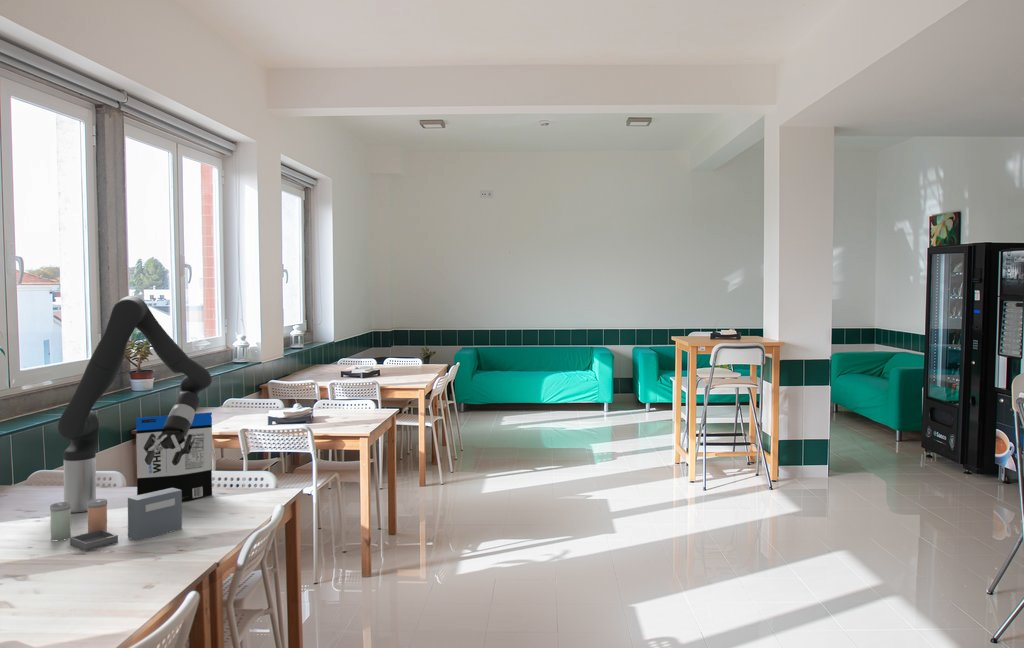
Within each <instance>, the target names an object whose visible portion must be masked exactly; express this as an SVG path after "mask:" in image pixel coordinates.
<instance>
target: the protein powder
mask: <svg viewBox="0 0 1024 648" xmlns="http://www.w3.org/2000/svg"><path fill="white" fill-rule="evenodd" d="M212 415H213V412H201V413H199V412H195V415H194V419H193V422H192V424H191V426H190V428H189V431H188V433H187V436H188V435H189V434H191V435H192V436H193V438H194V442H193V445H192V448H191V451H190V453H189V454H184V455H182V457H181V459H180V462H179V463H178V464H177V465H173V464H172V460H173V458H174V455H175V453H176V452H177V449H176V448H174V449H170V448H169V449H163V450H161V451H158V452H157V453H156V454H154V458H153V460H152V462H151V464H150V465H147V463H146V462H145V458H146V455H147V453H146V451H145V450H144V449H143V448H144V446H145V444H146V442H147V440H148V438H149V436H150V435H151V434H154V435H157V436H159V435H160V434H161V433H162V430H163V427H164V424H165V422H166V420H167V418H168V416H169V414H168V415H160V416H159V415H157V416H155V415H154V416H143V417H142V416H141V417H136V419H135V420H136V424H135V425H136V426H135V427H136V430H135V431H136V433H135V434H136V442H135V443H136V479H137V481H136V482H137V483H136V486H137V487H136V496H137V495H141V494H146V493H150V492H155V491H159V490H164V489H168V488H176V489H179V490H182V503H187V502H192V501H196V500H200V499H204V498H207V497H209V496H213V476H212V475H213V473H212V466H213V465H212V462H213V461H212V458H213V455H212V453H213V417H212ZM157 441H158V440H157ZM185 442H186V441H184V442H183V443H181V444H180V445H181V448H182V449H183V448H184V445H185ZM160 446H161V444H159V447H160ZM155 449H156V448H155ZM155 449H154V450H155Z"/></svg>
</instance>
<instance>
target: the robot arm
mask: <svg viewBox="0 0 1024 648" xmlns="http://www.w3.org/2000/svg"><path fill="white" fill-rule="evenodd" d="M136 329H137V330H138V331H139V332H140V333H142V335H143V336H144V337H145V338H146V340H147V341H148V343H149V344H150V346H151V349H153V350H154V352H155V354H156V355H157V356H158V358H159V359H160V360H161V361H162V362H163V364H164V365H165V366H166V367H167V369H169V370H170V371H171V372H172V373H174V374H180V373H181V374H184V375H185V376H184V377H183V379H182V380H181V382H180V383H179V384H180V385H179V388H178V393H177V398H176V400H175V403H174V405H173V406H172V408H171V410H170V411H169V414H168V415H169V416H168V415H167V416H168V418H167V420H166V422H165V424H164V427H163V430H162V433H161V434H160V435H159V436H157V435H154V434H151V435H150V436H149V438H148V440H147V442H146V444H145V446H144V448H143V449H144V450H145V451H146V453H147V455H146V458H145V462H146V463H147V465H150V464H151V462H152V460H153V458H154V454H156V453H157V452H158V451H161V450H163V449H169V448H170V449H174V448H176V449H177V452H176V453H175V455H174V458H173V460H172V464H173V465H177V464H178V463H179V462H180V459H181V457H182V455H184V454H189V453H190V451H191V448H192V445H193V442H194V438H193V436H192V435H191V434H189V435H188V436H187V433H188V431H189V428H190V426H191V424H192V422H193V419H194V415H195V414H196V413H197V410H198V408H199V404H200V397H199V396H198V394H200V392H202V391H204V390H206V389H207V388H209V387H210V386H211V384H212V381H213V379H212V375H211V373H210V371H208V370H207V369H206V367H204V366H202V365H201V364H199V363H198V362H196V361H195V360H193V359H192V358H190V357H189V356H188V355H187V353H186V352H184V351H183V349H182V348H181V347H180V346H179V345H178V344H177V343H176V342H175V341H174V340H173V339H172V337H171V336H170V335H169V333H167V331H166V330H165V329H164V328H163V327H162V326H161V324H160V323H159V321H158V320H157V319H156V318H155V315H154V314H153V313H152V311H151V310H150V308H149V306H148V305H147V303H146V302H145V300H144V299H142V298H141V297H139V296H136V295H127V296H125V297H122V298H121V299H119V300H118V301H116V303H115V304H114V305H113V307H112V310H111V313H110V315H109V320H108V323H107V325H106V328H105V330H104V333H103V336H102V337H101V338H100V340H99V342H98V344H97V345H96V347H95V349H94V351H93V353H92V355H91V357H90V359H89V361H88V363H87V365H86V367H85V370H84V372H83V375H82V377H81V379H80V381H79V383H78V385H77V386H76V390H75V392H74V393H73V395H72V397H71V399H70V401H69V402H68V404H67V406H66V408H65V409H64V411H63V412H62V414H61V416H60V417H59V420H58V423H57V431H58V434H59V435H60V437H61V438H62V439H64V440H67V441H70V440H71V442H70V444H69V446H67V447H66V448H65V450H64V451H63V502H70V503H71V513H84V512H88V507H87V502H88V501H90V500H95V499H97V481H96V480H97V479H96V478H97V468H96V465H97V463H96V461H97V459H96V455H97V454H96V453H97V450H98V447H99V439H100V438H99V437H100V436H99V435H100V423H99V422H100V421H99V418H98V415H97V413H96V412H95V411H93V410H92V409H93V407H94V406H95V404H96V403H97V401H98V400H99V399H100V398H101V397H102V396H103V395H104V394H105V393H106V392H107V391H108V390H109V389H110V387H111V386H112V385H113V383H114V382H115V379H116V378H117V375H118V374H119V371H120V369H121V367H122V365H123V361H124V357H125V354H126V348H127V345H128V342H129V340H130V338H131V336H132V334H133V332H134V331H135V330H136ZM157 440H158V441H157ZM184 441H186V442H185V445H184V448H183V449H182V448H181V445H180V444H181V443H183V442H184ZM159 444H161V446H160V447H159ZM155 448H156V449H155ZM154 449H155V450H154Z"/></svg>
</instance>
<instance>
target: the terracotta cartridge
mask: <svg viewBox="0 0 1024 648" xmlns="http://www.w3.org/2000/svg"><path fill="white" fill-rule="evenodd" d="M87 507H88V511H87V533H90V532H94V531H98V530H105V531H108V499H105V498H96V499H95V500H90V501H88V502H87Z"/></svg>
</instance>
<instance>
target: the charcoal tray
mask: <svg viewBox="0 0 1024 648" xmlns="http://www.w3.org/2000/svg"><path fill="white" fill-rule="evenodd" d="M118 543H119V535H118V534H117V533H113V532H110V531H108V530H107V531H105V530H98V531H94V532H90V533H88V532H87V533H83V534H79V535H75V536H71V537H70V538H69V545H70V546H71V547H73V546H74V547H73V548H76V549H78V548H79V550H81V551H84V552H89V551H93V550H96V549H100V548H103V547H107V546H111V545H115V544H118Z"/></svg>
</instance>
